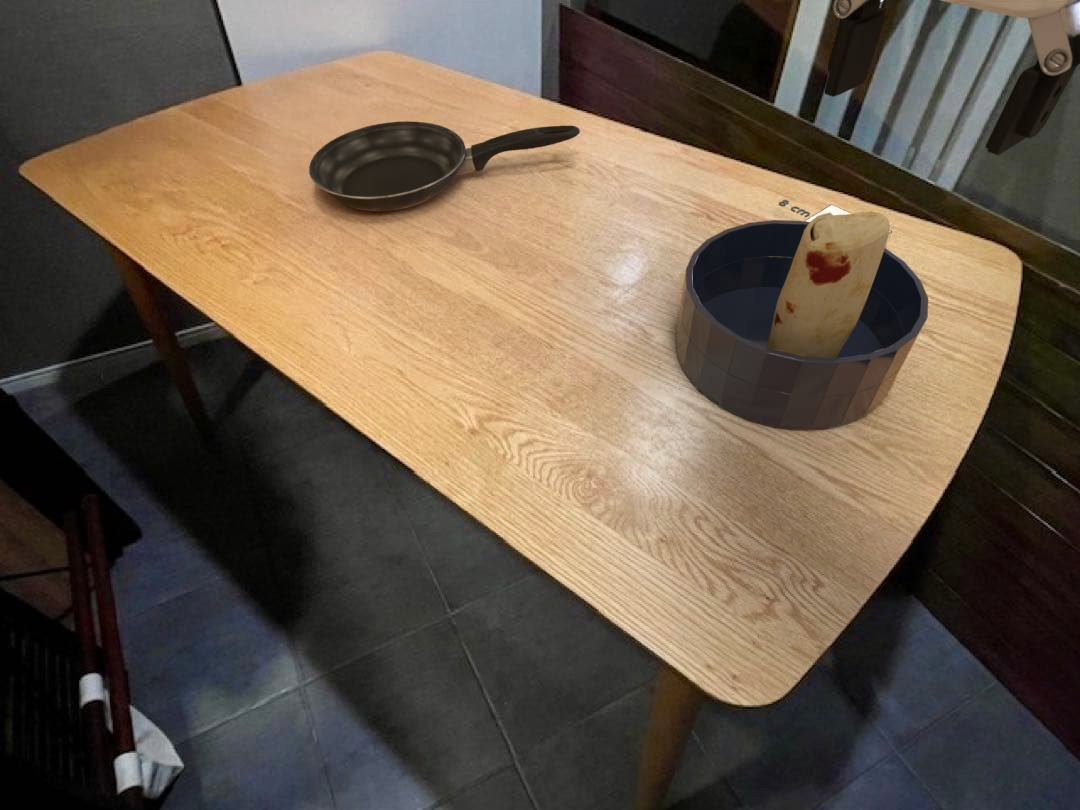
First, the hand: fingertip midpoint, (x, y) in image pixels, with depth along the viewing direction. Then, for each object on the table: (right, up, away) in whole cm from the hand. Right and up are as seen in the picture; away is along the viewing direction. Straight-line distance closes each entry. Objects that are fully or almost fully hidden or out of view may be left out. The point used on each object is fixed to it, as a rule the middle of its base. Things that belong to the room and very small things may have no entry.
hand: (918, 115), depth 36 cm
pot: (+7, -10, +40) cm, 41 cm away
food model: (+7, -13, +36) cm, 39 cm away
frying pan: (-39, +21, +71) cm, 84 cm away
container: (+19, +5, +53) cm, 57 cm away
